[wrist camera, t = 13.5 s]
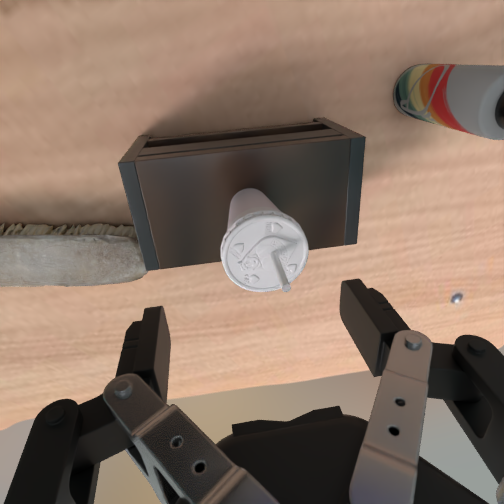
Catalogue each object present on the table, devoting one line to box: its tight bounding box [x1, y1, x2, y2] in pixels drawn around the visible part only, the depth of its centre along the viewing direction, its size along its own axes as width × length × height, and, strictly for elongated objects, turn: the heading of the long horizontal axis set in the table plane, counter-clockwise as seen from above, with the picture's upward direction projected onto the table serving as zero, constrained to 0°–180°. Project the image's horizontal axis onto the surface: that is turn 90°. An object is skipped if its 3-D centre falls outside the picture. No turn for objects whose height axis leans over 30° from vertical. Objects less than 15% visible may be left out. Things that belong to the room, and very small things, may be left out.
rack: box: [118, 118, 366, 271], centre depth 39 cm, size 22×11×12 cm, turn 94°
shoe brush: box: [0, 222, 148, 287], centre depth 43 cm, size 24×8×5 cm, turn 87°
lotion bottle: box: [393, 64, 504, 140], centre depth 33 cm, size 6×6×20 cm
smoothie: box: [221, 188, 309, 292], centre depth 27 cm, size 6×6×14 cm
